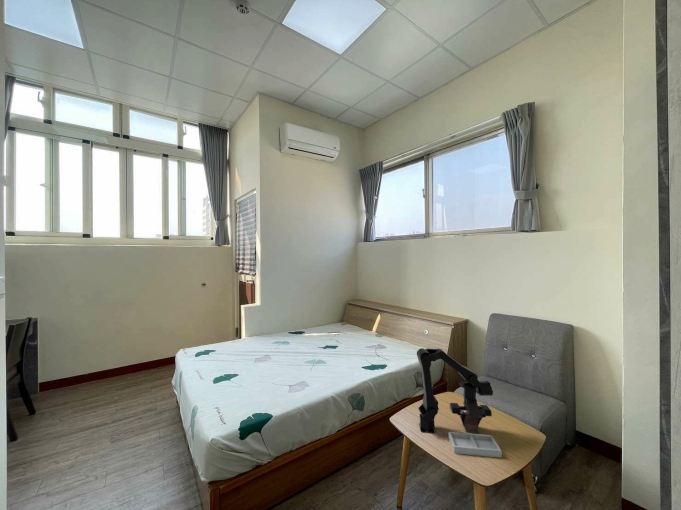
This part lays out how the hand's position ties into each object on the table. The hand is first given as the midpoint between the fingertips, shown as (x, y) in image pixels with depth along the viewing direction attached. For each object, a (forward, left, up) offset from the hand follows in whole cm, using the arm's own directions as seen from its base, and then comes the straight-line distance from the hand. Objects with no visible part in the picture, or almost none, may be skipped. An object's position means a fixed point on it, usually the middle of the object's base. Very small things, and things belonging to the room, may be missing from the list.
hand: (470, 426), depth 137 cm
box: (0, 0, -1) cm, 1 cm away
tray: (-3, -14, -1) cm, 14 cm away
